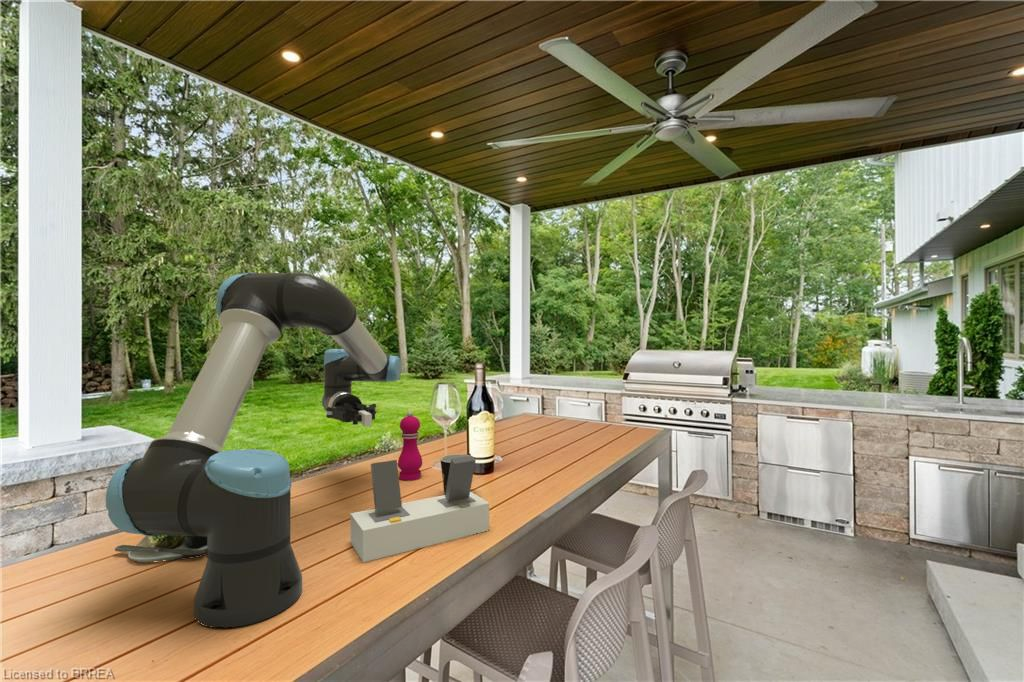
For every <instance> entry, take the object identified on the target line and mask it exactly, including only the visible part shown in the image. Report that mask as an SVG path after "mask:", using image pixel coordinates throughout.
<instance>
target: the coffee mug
mask: <svg viewBox="0 0 1024 682" xmlns="http://www.w3.org/2000/svg"><path fill="white" fill-rule="evenodd" d="M467 456H470V455H469V454H461V453H460V454H459V453H455V454H454V453H453V454H447V455H444V456H442V457H441V458H440V466H441V467H440V468H441V476H442V483H443V485H442V486H443V493H444V495H445V494H446V487H447V481H448V475H449V469H450V463H451V459H454V458H461V457H467Z"/></svg>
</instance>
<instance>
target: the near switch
mask: <svg viewBox="0 0 1024 682" xmlns="http://www.w3.org/2000/svg"><path fill="white" fill-rule="evenodd" d="M370 473H371V480H372V481H371V483H372V493H373V503H374V509H375V512H380V511H385V510H390V509H395V508H400V507H402V503H403V502H402V496H401V488H400V475H399V467H398V460H397V459H393V460H386V461H379V462H373V463H370Z"/></svg>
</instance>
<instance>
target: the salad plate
mask: <svg viewBox="0 0 1024 682" xmlns="http://www.w3.org/2000/svg"><path fill="white" fill-rule="evenodd" d="M114 552H118V553H124V554H126V555H127V557H128V558H129V559H131V560H133V561H135V562H138V563H146V562H154V561H163V560H171V561H174V560H173V559H180V560H183V559H182V558H188V559H191V558H190V557H194V558H197V557H196V556H199V557H201V556H200V555H203V554H206V555H207V537H205V536H180V535H155V536H145V535H144V537H143V538H141V540H140V541H139V542H138V543H137V544H136V545H131V544H129V545H128V544H121V545H118V546H115V548H114ZM203 556H204V555H203ZM163 562H164V561H163Z"/></svg>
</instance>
